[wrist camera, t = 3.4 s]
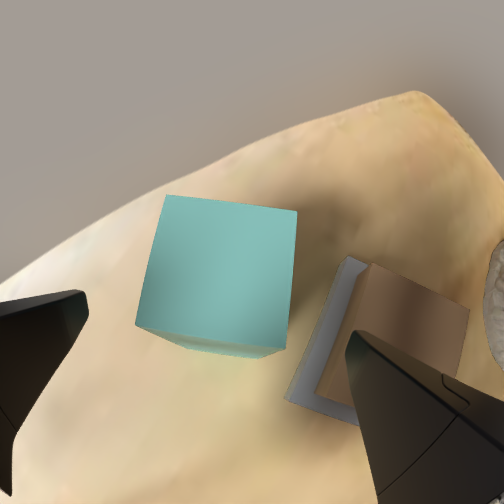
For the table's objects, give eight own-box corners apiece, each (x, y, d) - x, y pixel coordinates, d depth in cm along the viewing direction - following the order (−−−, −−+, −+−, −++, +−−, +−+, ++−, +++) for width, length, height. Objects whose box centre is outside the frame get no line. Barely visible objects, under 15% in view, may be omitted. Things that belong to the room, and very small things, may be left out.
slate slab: (441, 317, 21) (459, 310, 19) (402, 437, 18) (419, 442, 15) (336, 267, 22) (348, 255, 20) (282, 397, 19) (288, 401, 16)
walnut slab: (448, 317, 19) (469, 309, 16) (416, 425, 16) (438, 429, 13) (357, 275, 19) (372, 262, 17) (313, 393, 17) (325, 396, 14)
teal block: (257, 359, 19) (285, 348, 9) (187, 348, 19) (134, 325, 9) (265, 291, 21) (297, 211, 10) (198, 282, 20) (166, 194, 10)
